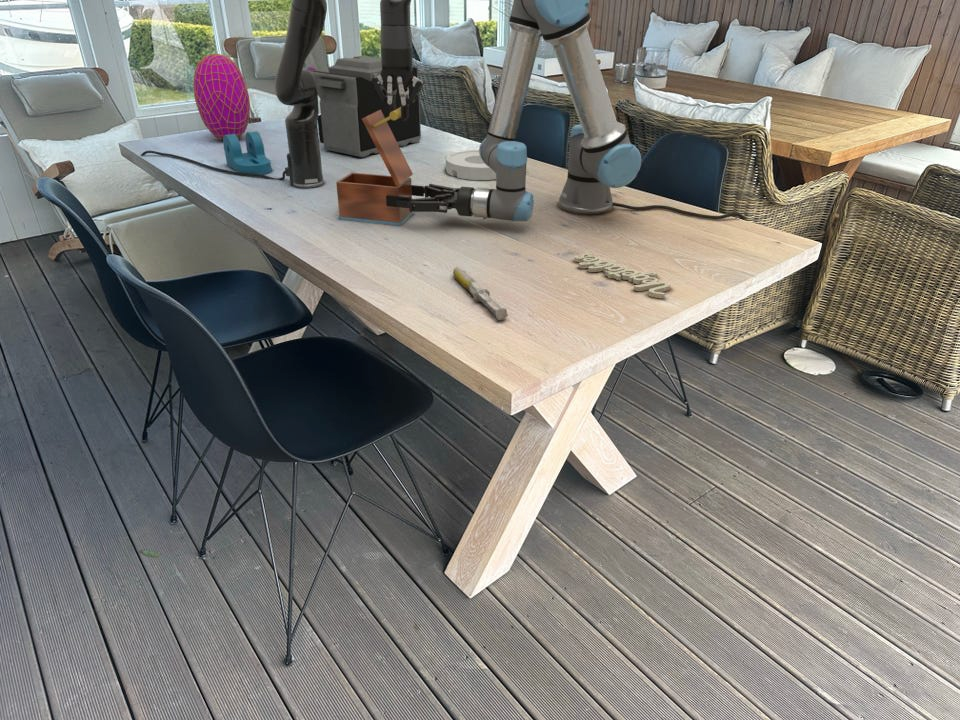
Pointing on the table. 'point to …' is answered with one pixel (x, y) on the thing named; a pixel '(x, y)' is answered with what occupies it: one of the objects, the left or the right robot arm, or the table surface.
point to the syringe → (479, 293)
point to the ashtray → (468, 166)
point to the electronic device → (359, 107)
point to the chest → (371, 198)
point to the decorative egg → (221, 96)
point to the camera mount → (246, 154)
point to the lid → (388, 144)
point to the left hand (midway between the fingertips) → (398, 119)
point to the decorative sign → (625, 274)
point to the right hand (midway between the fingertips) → (394, 194)
